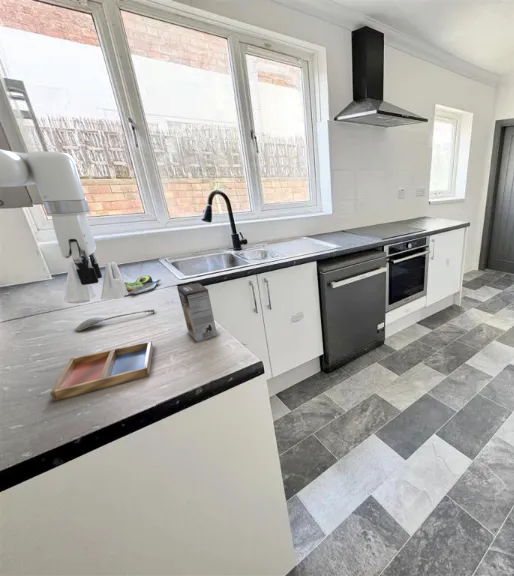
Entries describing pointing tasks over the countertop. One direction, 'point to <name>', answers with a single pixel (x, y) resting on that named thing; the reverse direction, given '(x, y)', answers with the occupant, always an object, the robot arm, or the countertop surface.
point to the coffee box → (197, 311)
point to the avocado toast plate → (140, 285)
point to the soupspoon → (97, 320)
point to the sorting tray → (103, 370)
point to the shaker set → (85, 293)
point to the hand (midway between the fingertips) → (92, 280)
